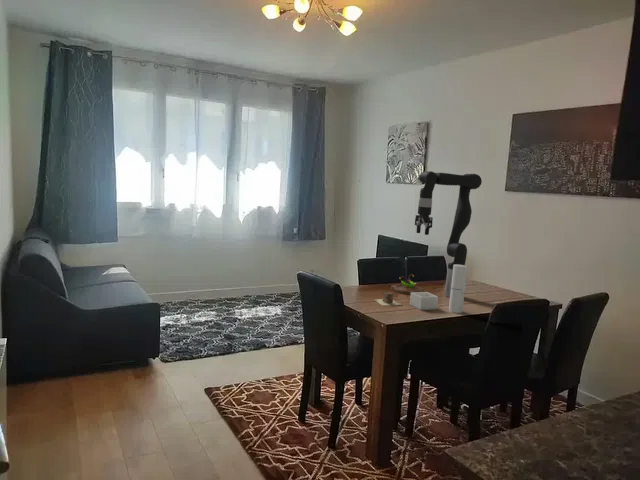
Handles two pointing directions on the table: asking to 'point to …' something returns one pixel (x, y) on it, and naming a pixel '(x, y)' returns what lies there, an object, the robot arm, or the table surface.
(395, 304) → the oak lid
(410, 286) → the plant
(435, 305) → the off-white box
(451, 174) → the robot arm
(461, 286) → the cylindrical container
